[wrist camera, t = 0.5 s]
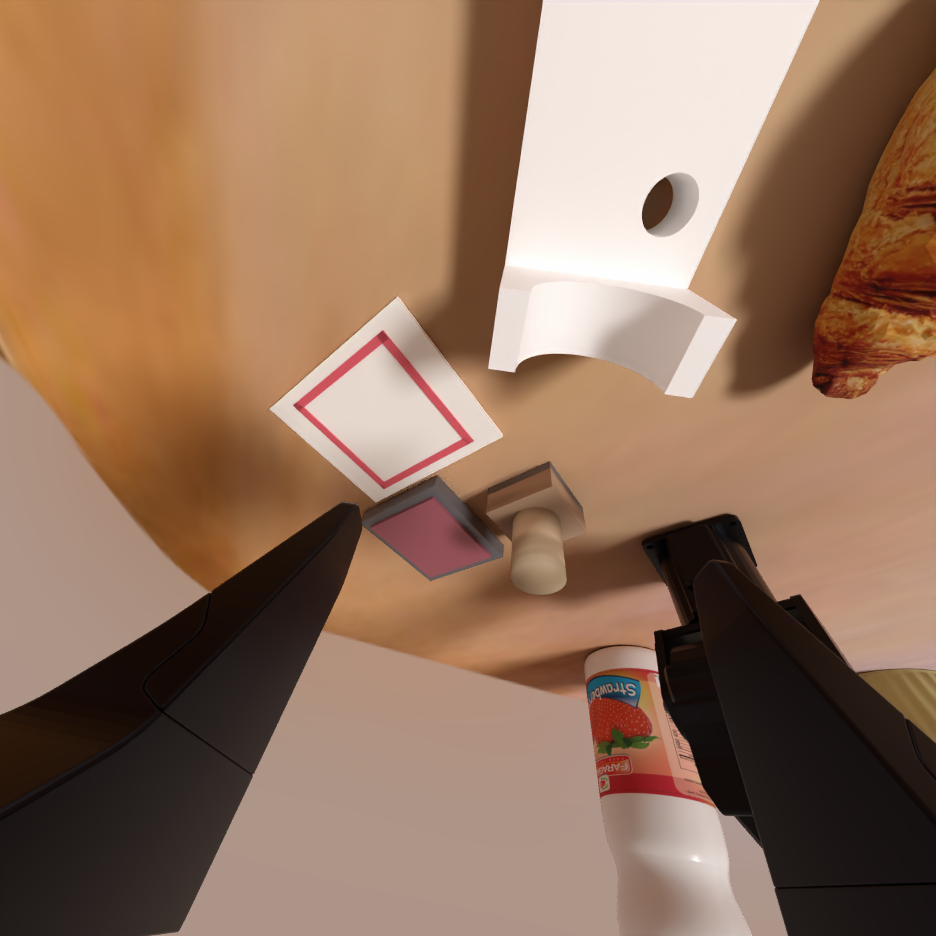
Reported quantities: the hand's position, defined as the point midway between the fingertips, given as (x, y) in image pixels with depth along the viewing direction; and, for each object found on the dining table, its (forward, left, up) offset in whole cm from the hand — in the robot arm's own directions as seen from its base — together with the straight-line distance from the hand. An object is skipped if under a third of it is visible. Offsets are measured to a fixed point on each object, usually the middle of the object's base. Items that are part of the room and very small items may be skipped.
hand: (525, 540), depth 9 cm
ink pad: (-9, +14, -13) cm, 21 cm away
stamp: (-10, +5, -13) cm, 17 cm away
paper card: (+1, +10, -13) cm, 16 cm away
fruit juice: (-38, +9, -13) cm, 41 cm away
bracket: (+5, -7, -14) cm, 16 cm away
